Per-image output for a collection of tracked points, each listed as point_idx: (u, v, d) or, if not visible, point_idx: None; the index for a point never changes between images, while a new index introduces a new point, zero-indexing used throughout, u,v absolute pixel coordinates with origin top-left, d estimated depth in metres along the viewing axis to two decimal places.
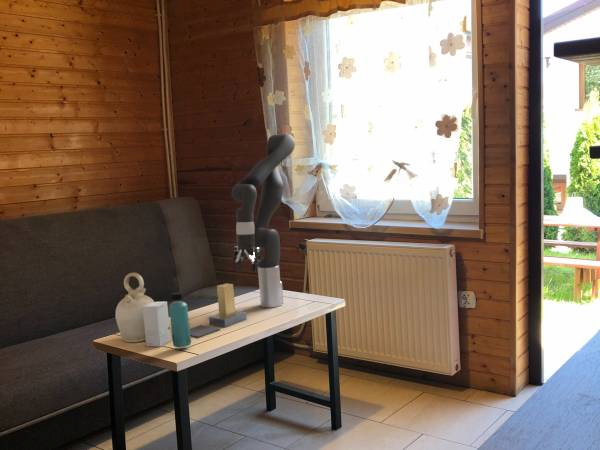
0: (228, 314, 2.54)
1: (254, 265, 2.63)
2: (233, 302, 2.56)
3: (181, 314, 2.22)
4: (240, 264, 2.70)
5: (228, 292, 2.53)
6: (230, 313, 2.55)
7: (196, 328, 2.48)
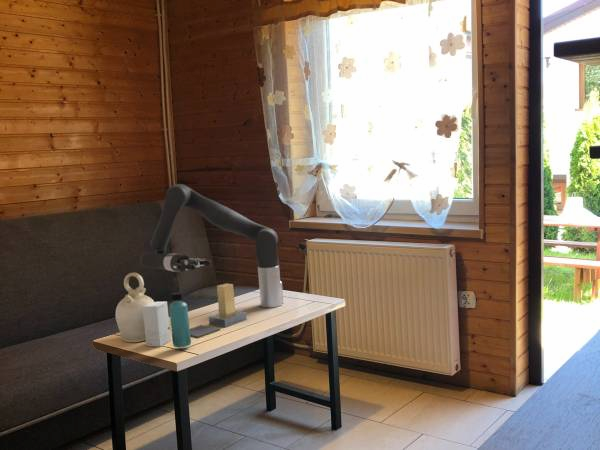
0: (228, 314, 2.54)
1: (188, 268, 2.60)
2: (233, 302, 2.56)
3: (181, 314, 2.22)
4: (204, 262, 2.66)
5: (228, 292, 2.53)
6: (230, 313, 2.55)
7: (196, 328, 2.48)
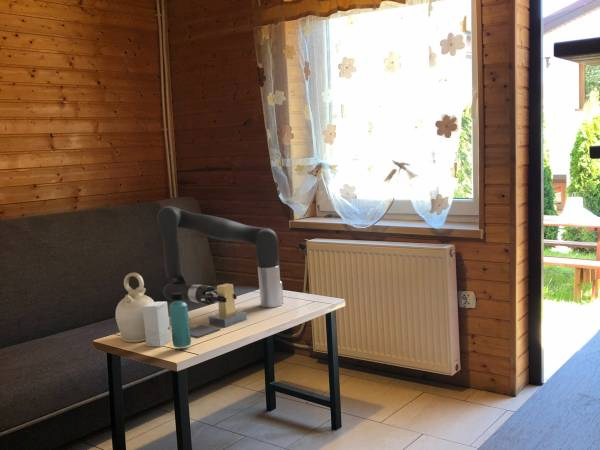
0: (228, 314, 2.54)
1: (219, 300, 2.53)
2: (233, 302, 2.56)
3: (181, 314, 2.22)
4: None
5: (228, 292, 2.53)
6: (230, 313, 2.55)
7: (196, 328, 2.48)
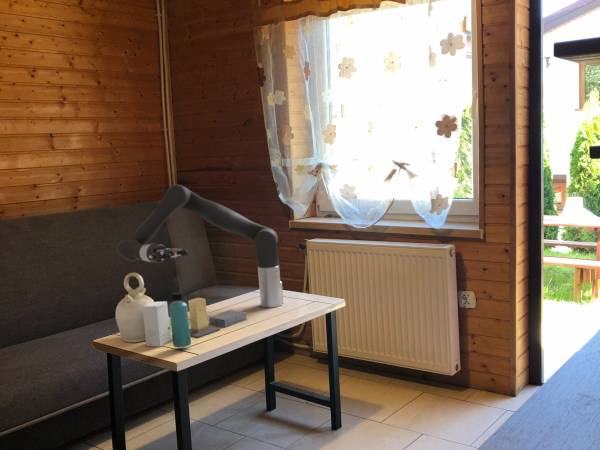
0: (200, 330, 2.43)
1: (164, 258, 2.53)
2: (205, 317, 2.45)
3: (181, 314, 2.22)
4: (181, 251, 2.59)
5: (199, 307, 2.42)
6: (202, 329, 2.44)
7: None
